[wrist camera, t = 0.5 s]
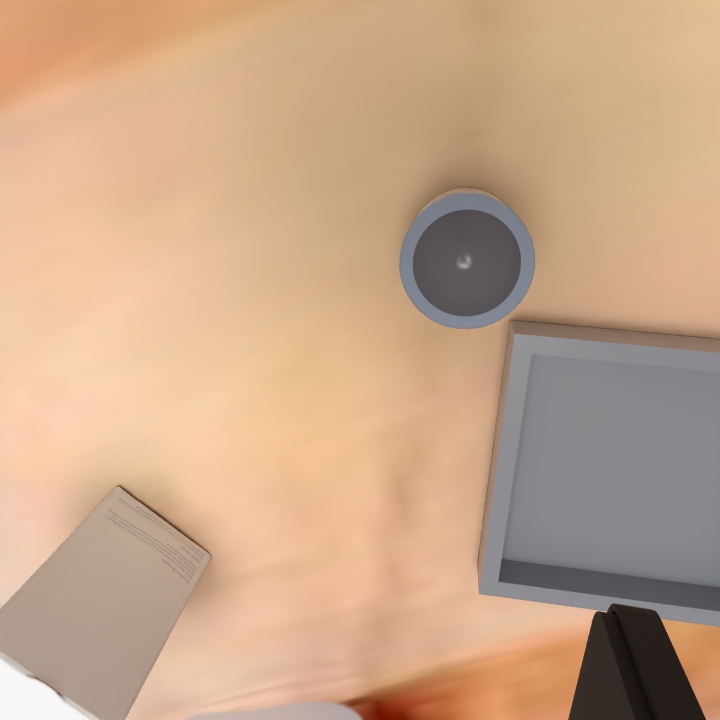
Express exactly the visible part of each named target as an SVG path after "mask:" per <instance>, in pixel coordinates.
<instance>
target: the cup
mask: <svg viewBox="0 0 720 720" xmlns="http://www.w3.org/2000/svg"><path fill="white" fill-rule="evenodd" d="M534 267H535V253H534V247H533V243H532V240H531V237H530V234H529V232H528V230H527V228H526V227H525V225H524V224H523V222H522V221H521V220H520V218H519V217H518V216H517V215H516V214H515V213H514V212H513V211H512V210H511V209H510V208H509V207H508V206H507V205H506V204H505V203H503V202H502V201H501V200H500V199H499V198H497V197H496V196H494V195H492V194H491V193H488V192H486V191H483V190H479V189H474V188H458V189H453V190H449V191H447V192H444V193H442V194H440V195H438V196H436V197H435V198H433V199H432V200H431V201H430V202H428V203H427V204H426V205H425V206H424V207H423V209H422V210H421V211H420V213H419V214H418V216H417V217H416V219H415V221H414V222H413V224H412V226H411V227H410V229H409V231H408V232H407V234H406V237H405V239H404V241H403V245H402V248H401V254H400V275H401V279H402V283H403V286H404V289H405V291H406V293H407V295H408V297H409V298H410V300H411V301H412V303H413V304H414V305H415V306H416V308H417V309H418V310H419V311H420V312H422V313H423V314H424V315H425V316H427V317H428V318H430V319H431V320H433V321H435V322H437V323H439V324H441V325H444V326H448V327H452V328H458V329H472V328H479V327H483V326H487V325H490V324H492V323H494V322H496V321H498V320H500V319H502V318H503V317H505V316H506V315H508V314H509V313H510V312H511V311H513V310H514V309H515V308H516V307H517V305H518V304H519V303H520V302H521V301H522V299H523V298H524V296H525V295H526V293H527V291H528V289H529V287H530V284H531V281H532V278H533V274H534Z"/></svg>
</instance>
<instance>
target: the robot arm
mask: <svg viewBox="0 0 720 720" xmlns="http://www.w3.org/2000/svg"><path fill="white" fill-rule="evenodd" d="M568 720H706V718H705V716H704V714H703V712H702V710H701V707H700V705H699V703H698V701H697V698H696V696H695V694H694V692H693V690H692V687H691V685H690V683H689V681H688V679H687V676H686V674H685V672H684V670H683V667H682V665H681V663H680V661H679V659H678V656H677V654H676V652H675V650H674V647H673V645H672V643H671V641H670V639H669V636H668V634H667V632H666V630H665V627H664V625H663V623H662V621H661V619H660V616H659V615H658V613H657V612H656V611H655V610H652V609H646V608H640V607H634V606H628V605H622V604H616V603H613V604H611V605H610V607H609V608H608V611H607V613H605V612H599V611H598V612H596V613H595V615H594V618H593V621H592V625H591V629H590V633H589V637H588V641H587V645H586V649H585V653H584V658H583V662H582V666H581V670H580V674H579V678H578V682H577V686H576V690H575V694H574V699H573V703H572V707H571V711H570V715H569V719H568Z"/></svg>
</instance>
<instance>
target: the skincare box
mask: <svg viewBox="0 0 720 720" xmlns="http://www.w3.org/2000/svg"><path fill="white" fill-rule="evenodd" d="M210 558H211V555H210V554H209V553H207V552H206V551H205V550H203V549H202V548H201V547H199V546H198V545H197V544H195V543H194V542H192V541H191V540H190V539H188V538H187V537H186V536H184V535H183V534H182V533H180V532H179V531H178V530H176V529H175V528H174V527H172V526H171V525H170V524H168V523H167V522H166V521H164V520H163V519H161V518H160V517H159V516H157V515H156V514H155V513H153V512H152V511H151V510H149V509H148V508H147V507H145V506H144V505H142V504H141V503H140V502H138V501H137V500H135V499H134V498H133V497H131V496H130V495H129V494H128V493H126V492H125V491H124V490H122V489H121V488H120V487H116V488H114V489H113V490H112V491H111V492H110V493H109V494H108V495H107V496H106V497H105V499H104V500H103V501H102V502H101V503H100V504H99V505H98V506H97V507H96V508H95V509H94V510H93V511H92V513H91V514H90V515H89V516H88V517H87V518H86V519H85V520H84V521H83V522H82V523H81V524H80V525H79V526H78V527H77V529H76V530H75V531H74V532H73V533H72V534H71V535H70V536H69V537H68V538H67V539H66V540H65V541H64V542H63V543H62V544H61V545H60V546H59V548H58V549H57V550H56V551H55V552H54V553H53V554H52V555H51V556H50V557H49V558H48V559H47V560H46V561H45V562H44V563H43V564H42V565H41V566H40V568H39V569H38V570H37V571H36V572H35V573H34V574H33V575H32V576H31V577H30V578H29V579H28V580H27V581H26V582H25V583H24V584H23V585H22V587H21V588H20V589H19V590H18V591H17V592H16V593H15V594H14V595H13V596H12V597H11V598H10V599H9V600H8V601H7V602H6V603H5V604H4V606H3V607H2V608H1V609H0V720H125V719H126V717H127V715H128V713H129V711H130V709H131V707H132V705H133V703H134V701H135V699H136V698H137V696H138V694H139V692H140V690H141V688H142V686H143V684H144V682H145V680H146V679H147V677H148V675H149V673H150V671H151V669H152V667H153V665H154V664H155V662H156V660H157V658H158V656H159V654H160V652H161V650H162V649H163V647H164V645H165V643H166V641H167V639H168V637H169V635H170V633H171V632H172V630H173V628H174V626H175V624H176V622H177V620H178V618H179V616H180V615H181V613H182V611H183V609H184V607H185V605H186V603H187V601H188V599H189V597H190V596H191V594H192V592H193V590H194V588H195V586H196V584H197V582H198V581H199V579H200V577H201V575H202V573H203V571H204V569H205V567H206V565H207V564H208V562H209V560H210Z"/></svg>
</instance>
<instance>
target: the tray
mask: <svg viewBox="0 0 720 720" xmlns="http://www.w3.org/2000/svg"><path fill="white" fill-rule="evenodd" d="M477 567H478V585H479V594H483V595H490V596H498V597H505V598H512V599H520V600H527V601H534V602H542V603H549V604H556V605H564V606H571V607H578V608H586V609H593V610H600V611H608V608H609V607H610V605H611V604H613V603H616V604H622V605H628V606H634V607H640V608H646V609H652V610H655V611H656V612H657V613H658V615H659V616H660V619H666V620H673V621H681V622H688V623H695V624H703V625H710V626H717V627H720V339H713V338H702V337H691V336H680V335H669V334H658V333H647V332H636V331H625V330H614V329H603V328H592V327H581V326H570V325H559V324H548V323H537V322H526V321H515V320H510V324H509V332H508V339H507V347H506V354H505V362H504V369H503V377H502V384H501V391H500V399H499V406H498V414H497V421H496V429H495V436H494V444H493V451H492V459H491V466H490V473H489V481H488V488H487V496H486V503H485V511H484V518H483V526H482V533H481V541H480V548H479V555H478V563H477Z"/></svg>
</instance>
